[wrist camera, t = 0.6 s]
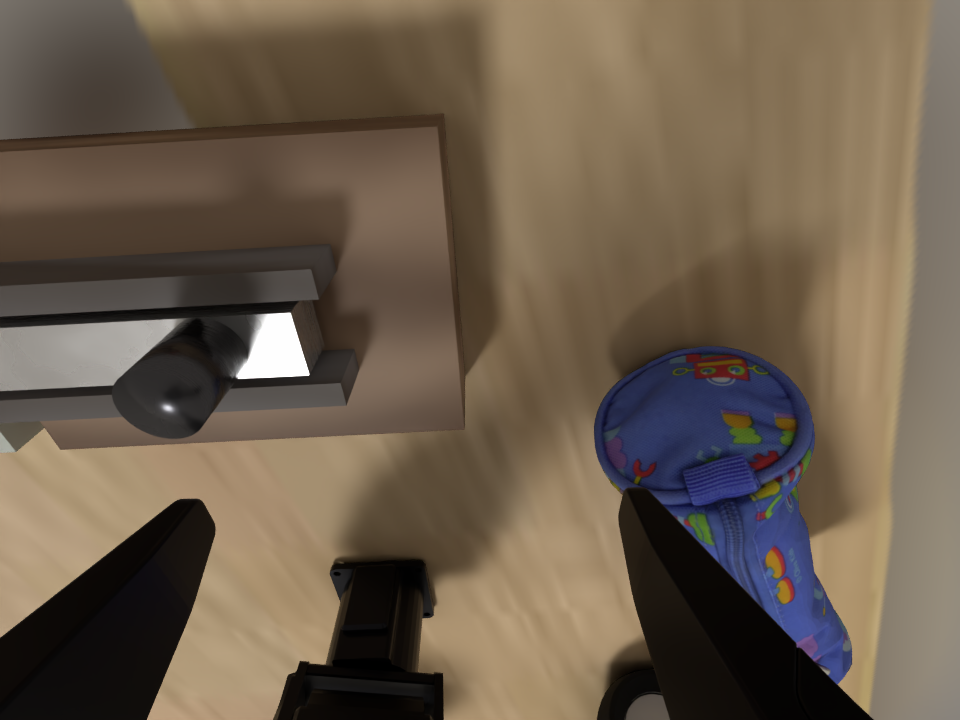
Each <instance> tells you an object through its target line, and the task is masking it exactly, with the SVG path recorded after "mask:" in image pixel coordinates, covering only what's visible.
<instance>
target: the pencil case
mask: <svg viewBox="0 0 960 720" xmlns="http://www.w3.org/2000/svg"><path fill="white" fill-rule="evenodd" d="M594 439H595V448H596V453H597V457H598V460H599V462H600V464H601V466H602V469H603V471H604V473H605V474H606V476H607V478H608V479H609V481H610V483H611V484H612V485H613V486H614V487H615V488H616V489H617V490H618V491H619V492H620V493H621V494H622V495H623V492H624V490H625V489H626V488H628V487H644V488H647V489H648V490H649V491H650V492H651V493H652V494H653V495H654V496H655V497H656V498H657V499H658V500H659V501H660V502H661V503H662V504H663V505H664V506H665V507H666V508H667V509H668V510H669V512H670V513H671V514H672V515H673V516H674V517H675V518H676V519H677V520H678V521H679V522H680V523H681V524H682V525H683V526H684V527H685V528H686V529H687V530H688V531H689V532H690V533H691V534H692V535H693V536H694V537H695V538H696V540H697V541H698V542H699V543H700V544H701V545H702V546H703V547H704V548H705V549H706V550H707V551H708V552H709V553H710V554H711V555H712V556H713V557H714V558H715V559H716V560H717V561H718V562H719V563H720V564H721V565H722V566H723V567H724V569H725V570H726V571H727V572H728V573H729V574H730V575H731V576H732V577H733V578H734V579H735V580H736V581H737V582H738V583H739V584H740V585H741V586H742V587H743V588H744V589H745V590H746V591H747V592H748V593H749V594H750V595H751V597H752V598H753V599H754V600H755V601H756V602H757V603H758V604H759V605H760V606H761V607H762V608H763V609H764V610H765V611H766V612H767V613H768V614H769V615H770V616H771V617H772V618H773V619H774V620H775V621H776V622H777V623H778V625H779V626H780V627H781V628H782V629H783V630H784V631H785V632H786V633H787V634H788V635H789V636H790V637H791V638H792V639H793V640H794V641H795V642H796V644H797V648H798V647H800V648H802V649H803V650H804V651H805V652H806V653H807V654H808V655H809V656H810V657H811V658H812V660H813V661H814V662H815V663H816V664H817V665H818V666H819V667H820V668H821V669H822V670H823V671H824V672H825V673H826V674H827V675H828V676H829V677H830V678H831V679H832V680H833V681H834V682H835V683H836V684H838V683H839V682H840V681H841V680H842V679H843V678H844V676H845V675H846V673H847V672H848V671H849V669H850V667H851V665H852V646H851V641H850V638H849V635H848V633H847V630H846V628H845V626H844V624H843V623H842V621H841V619H840V618H839V616H838V614H837V613H836V611H835V610H834V609H833V606H832V604H831V602H830V601H829V599H828V597H827V595H826V592H825V590H824V588H823V586H822V585H821V583H820V581H819V579H818V578H817V576H816V574H815V573H814V567H813V560H812V554H811V548H810V540H809V534H808V528H807V526H806V523H805V521H804V519H803V517H802V515H801V514H800V512H799V503H798V492H797V486H796V484H797V483H798V481H799V480H800V478H801V477H802V475H803V474H804V472H805V471H806V469H807V467H808V465H809V462H810V460H811V456H812V453H813V449H814V440H815V434H814V425H813V422H812V416H811V412H810V409H809V406H808V403H807V401H806V399H805V398H804V396H803V394H802V393H801V391H800V390H799V388H798V387H797V386H796V385H795V384H794V383H793V381H792V380H791V379H790V378H789V377H788V376H787V375H785V374H784V373H783V372H782V371H781V370H779V369H778V368H777V367H775V366H774V365H772V364H770V363H769V362H767V361H765V360H764V359H762V358H760V357H758V356H755V355H753V354H750V353H747V352H745V351H741V350H737V349H732V348H727V347H718V346H705V347H696V348H692V349H681V350H677V351H673V352H670V353H668V354H666V355H664V356H662V357H660V358H658V359H656V360H654V361H652V362H650V363H648V364H646V365H645V366H643V367H641V368H639V369H637V370H636V371H634V372H632V373H630V374H629V375H627V376H626V377H624V378H623V379H622V380H620V381H619V382H618V383H616V384H615V385H614V386H613V387H612V388H611V389H610V391H609V392H608V393H607V395H606V396H605V397H604V399H603V400H602V402H601V404H600V406H599V409H598V411H597V415H596V419H595V425H594Z"/></svg>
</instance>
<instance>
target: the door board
mask: <svg viewBox="0 0 960 720" xmlns="http://www.w3.org/2000/svg"><path fill="white" fill-rule="evenodd" d="M301 300H313V304H314V308H315V312H316V315H317V319H318V323H319V327H320V330H321V334H322V338H323V341H324V347H323V349H322V351H321V353H320V355H319V357H318V359H317V361H316V363H315V365H314V367H313V369H312V371H311V373H310V375H303V376H283V377H264V378H245V379H237V380H236V381H235V383H234V384H233V386H232V387H231V388H230V390H229V391H228V392H227V394H226V395H225V396H224V398H223V399H222V401H221V402H220V403H219V405H218V406H217V407H216V409H215V410H214V411H213V413H212V414H211V416H210V417H209V418H208V420H207V421H206V422H205V424H204V425H203V426H202V428H201V429H200V430H199V431H198V432H197V433H195V434H194V435H192V436H189V437H186V438H181V439H167V438H161V437H157V436H153V435H150V434H148V433H146V432H143V431H141V430H139V429H138V428H136V427H135V426H133V425H132V424H130V423H129V422H128V421H127V420H126V419H125V418H123V416H122V415H121V414H120V413H119V411H118V410H117V409H116V407H115V405H114V402H113V399H112V389H113V385H109V386H90V387H71V388H51V389H32V390H12V391H0V423H16V422H36V421H40V422H41V424H42V425H43V426H44V428H45V429H46V430H47V432H48V433H49V435H50V436H51V437H52V439H53V440H54V441H55V443H56V444H57V446H58V447H59V448H60V450H65V449H85V448H105V447H125V446H145V445H165V444H185V443H205V442H225V441H245V440H265V439H285V438H305V437H325V436H345V435H365V434H385V433H405V432H425V431H445V430H464V428H465V368H464V356H463V343H462V331H461V319H460V307H459V295H458V282H457V270H456V258H455V246H454V234H453V222H452V209H451V197H450V185H449V173H448V161H447V148H446V136H445V124H444V114H435V115H418V116H400V117H383V118H366V119H349V120H332V121H315V122H298V123H281V124H264V125H247V126H230V127H212V128H195V129H178V130H162V131H144V132H129V133H110V134H93V135H76V136H60V137H43V138H24V139H8V140H0V317H3V316H22V315H41V314H59V313H78V312H96V311H115V310H134V309H152V308H171V307H190V306H208V305H227V304H245V303H264V302H283V301H301Z"/></svg>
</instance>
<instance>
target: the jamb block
mask: <svg viewBox="0 0 960 720" xmlns="http://www.w3.org/2000/svg"><path fill="white" fill-rule="evenodd" d="M43 428H44V426H43V425H42V424H41V422H40V421H36V422H16V423H0V453H5V452H17V451H18V450H19V449H20V448H21V447H22V446H24V445H25V444H26V443H27V442H28V441H29V440H31V439H32V438H33V437H34V436H35V435H36V434H38V433H39V432H40V431H41V430H42V429H43Z"/></svg>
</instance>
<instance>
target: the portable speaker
mask: <svg viewBox="0 0 960 720" xmlns="http://www.w3.org/2000/svg"><path fill="white" fill-rule="evenodd" d="M597 720H670V718H669V715H668V712H667V709H666V705H665V702H664V699H663V696H662V692H661V689H660V686H659V682H658V679H657V676H656V673H655V670H640V671H637V672H634V673H629V674H628V675H626V676H623V677H621V678H619V679H618V680H617V681H616V682H614V683H613V684H612V685H611V686H610V688H609V689H608V690H607V692H606V693H605V695H604V697H603V699H602V701H601V704H600V707H599V711H598V716H597Z"/></svg>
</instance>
